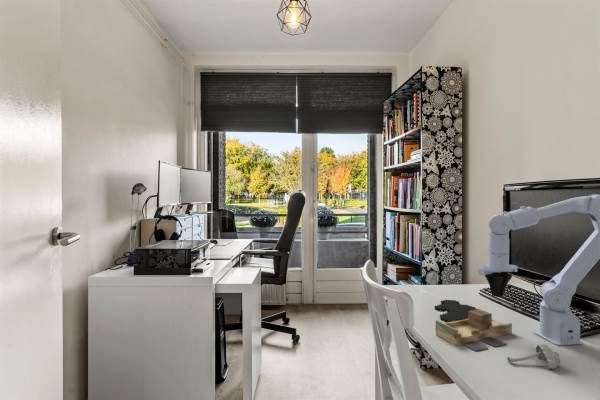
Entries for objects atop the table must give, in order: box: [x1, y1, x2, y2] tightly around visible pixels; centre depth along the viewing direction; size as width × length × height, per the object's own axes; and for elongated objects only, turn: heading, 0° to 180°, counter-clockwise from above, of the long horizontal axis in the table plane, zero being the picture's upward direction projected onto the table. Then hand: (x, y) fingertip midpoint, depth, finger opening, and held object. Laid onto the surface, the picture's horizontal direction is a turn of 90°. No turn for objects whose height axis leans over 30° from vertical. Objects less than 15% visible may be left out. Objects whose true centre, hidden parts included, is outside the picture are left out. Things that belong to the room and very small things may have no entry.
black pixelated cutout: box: [434, 299, 478, 323], centre depth 122 cm, size 16×1×30 cm
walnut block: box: [468, 308, 493, 331], centre depth 107 cm, size 4×4×4 cm
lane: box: [435, 319, 513, 353], centre depth 104 cm, size 22×13×4 cm, turn 110°
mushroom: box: [506, 343, 561, 370], centre depth 88 cm, size 7×5×12 cm
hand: (497, 295), depth 110 cm, fingers closed
